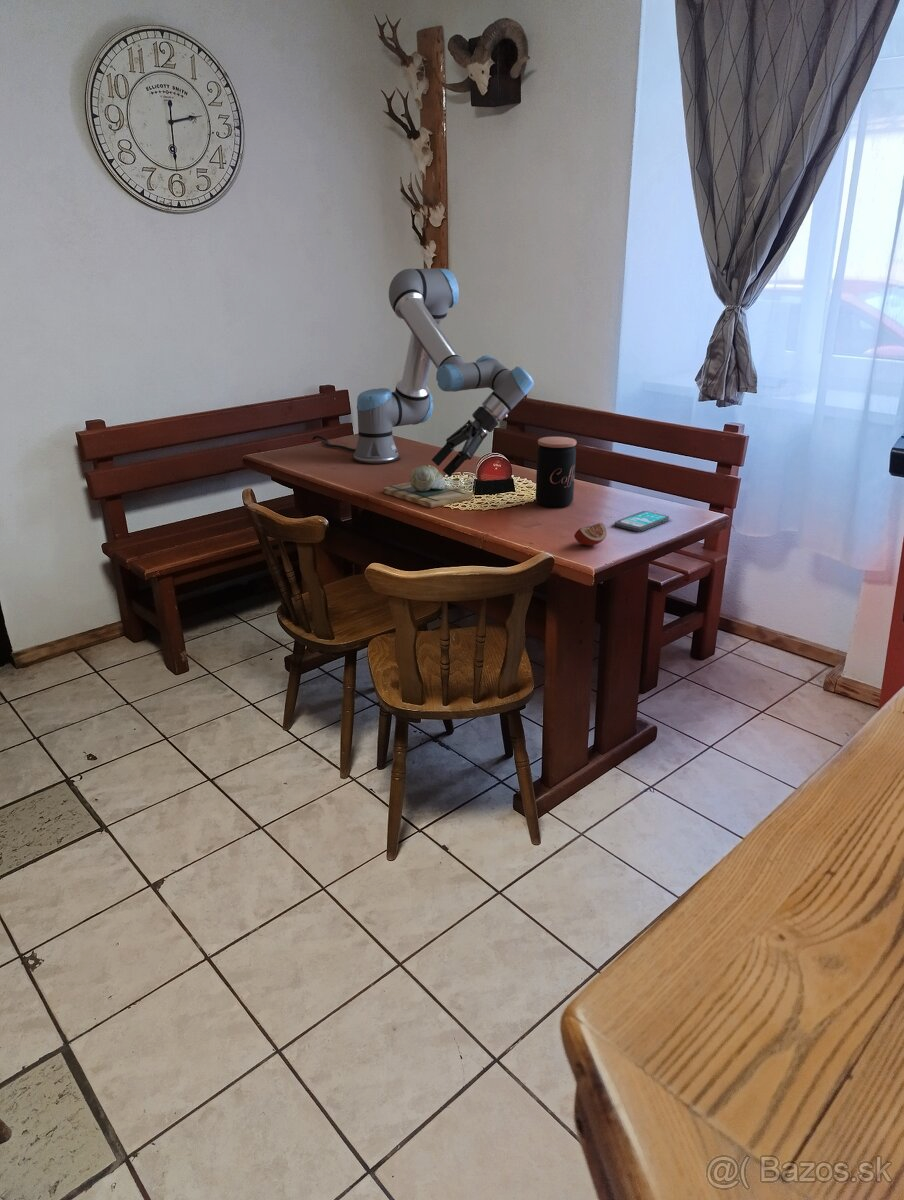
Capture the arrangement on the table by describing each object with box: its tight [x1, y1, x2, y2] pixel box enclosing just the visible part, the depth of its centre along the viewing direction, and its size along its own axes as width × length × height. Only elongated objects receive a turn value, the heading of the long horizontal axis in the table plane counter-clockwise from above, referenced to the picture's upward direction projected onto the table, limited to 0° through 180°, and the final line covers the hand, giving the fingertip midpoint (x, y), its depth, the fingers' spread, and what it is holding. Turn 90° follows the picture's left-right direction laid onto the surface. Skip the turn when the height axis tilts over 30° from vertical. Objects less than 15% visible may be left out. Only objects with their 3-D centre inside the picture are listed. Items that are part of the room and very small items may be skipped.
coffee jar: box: [535, 436, 578, 509], centre depth 228 cm, size 11×11×18 cm
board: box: [382, 481, 474, 509], centre depth 239 cm, size 22×16×2 cm
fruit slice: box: [573, 522, 608, 546], centre depth 197 cm, size 8×7×5 cm
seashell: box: [409, 464, 446, 492], centre depth 238 cm, size 10×10×10 cm
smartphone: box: [614, 510, 670, 532], centre depth 214 cm, size 9×1×15 cm
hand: (440, 468), depth 238 cm, fingers open, 13 cm apart
